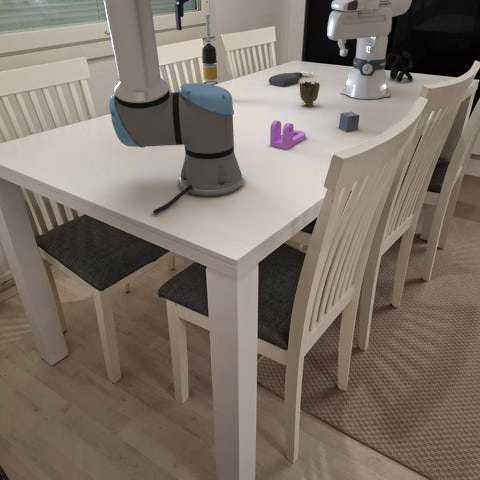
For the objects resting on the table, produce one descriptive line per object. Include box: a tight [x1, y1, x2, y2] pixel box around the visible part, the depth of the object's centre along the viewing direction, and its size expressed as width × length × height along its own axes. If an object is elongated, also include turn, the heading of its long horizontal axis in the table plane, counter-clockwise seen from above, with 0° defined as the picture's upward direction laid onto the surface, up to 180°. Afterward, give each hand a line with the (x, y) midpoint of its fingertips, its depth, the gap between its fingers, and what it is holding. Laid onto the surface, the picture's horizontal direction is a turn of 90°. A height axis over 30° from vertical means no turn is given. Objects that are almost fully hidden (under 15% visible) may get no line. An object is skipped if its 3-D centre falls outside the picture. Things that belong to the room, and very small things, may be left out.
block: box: [338, 111, 361, 133], centre depth 143 cm, size 4×4×5 cm
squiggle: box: [385, 51, 414, 83], centre depth 198 cm, size 11×10×15 cm
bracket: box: [269, 119, 306, 150], centre depth 133 cm, size 13×6×7 cm, turn 143°
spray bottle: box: [268, 70, 315, 87], centre depth 203 cm, size 3×11×24 cm
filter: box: [201, 14, 219, 85], centre depth 171 cm, size 6×6×30 cm
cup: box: [299, 81, 321, 107], centre depth 165 cm, size 8×7×8 cm
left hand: (156, 31), depth 127 cm, fingers open, 13 cm apart
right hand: (356, 54), depth 132 cm, fingers open, 8 cm apart
